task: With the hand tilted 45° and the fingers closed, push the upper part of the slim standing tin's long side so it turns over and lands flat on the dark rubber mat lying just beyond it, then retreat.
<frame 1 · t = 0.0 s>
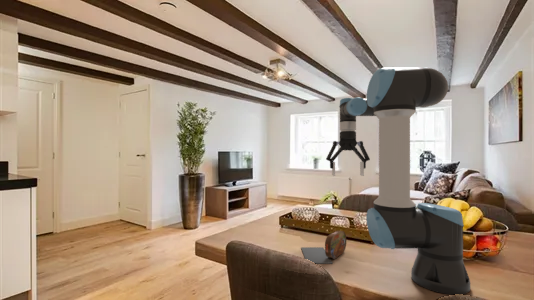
hand: (347, 175, 134), 28 cm above the table, tool pointing down, fingers open, 13 cm apart
mat: (315, 255, 107), on the table
tin: (335, 255, 107), on the table, touching mat
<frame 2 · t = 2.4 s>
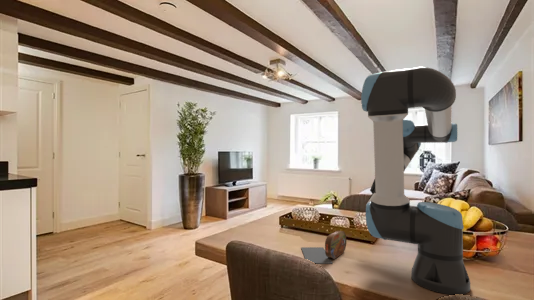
hand: (369, 207, 114), 17 cm above the table, tool tilted 45°, fingers closed
nothing on the table moved.
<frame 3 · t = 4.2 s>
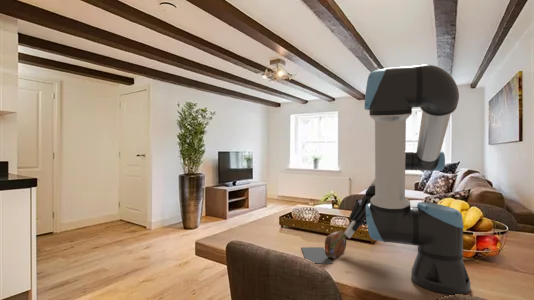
hand: (346, 235, 110), 7 cm above the table, tool tilted 45°, fingers closed
nothing on the table moved.
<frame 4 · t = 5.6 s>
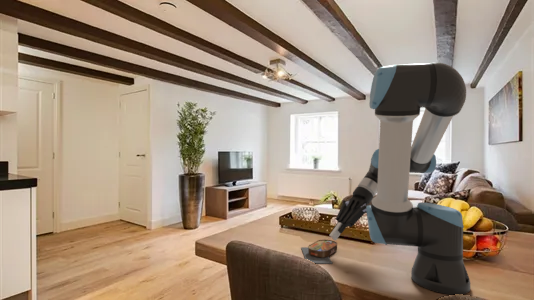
hand: (332, 238, 107), 6 cm above the table, tool tilted 45°, fingers closed
tin: (333, 251, 107), point 1 cm above the table, touching mat
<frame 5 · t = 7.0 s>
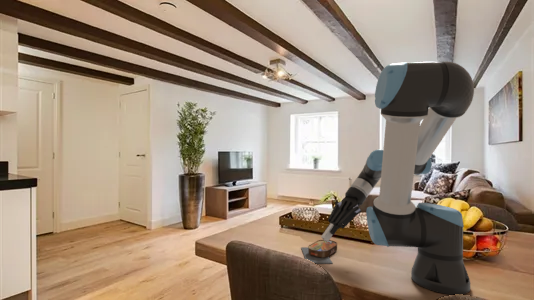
hand: (324, 239, 105), 7 cm above the table, tool tilted 45°, fingers closed
nothing on the table moved.
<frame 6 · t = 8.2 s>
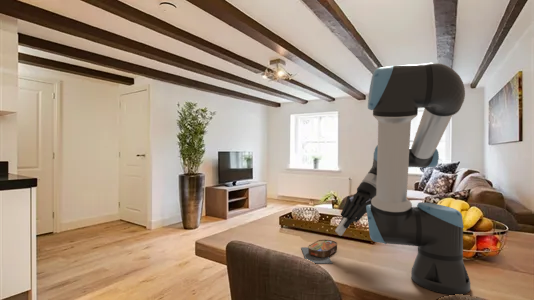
hand: (338, 233, 108), 8 cm above the table, tool tilted 45°, fingers closed
nothing on the table moved.
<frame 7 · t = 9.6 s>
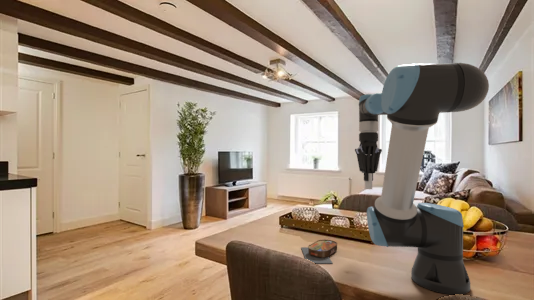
hand: (368, 188, 117), 24 cm above the table, tool pointing down, fingers closed
nothing on the table moved.
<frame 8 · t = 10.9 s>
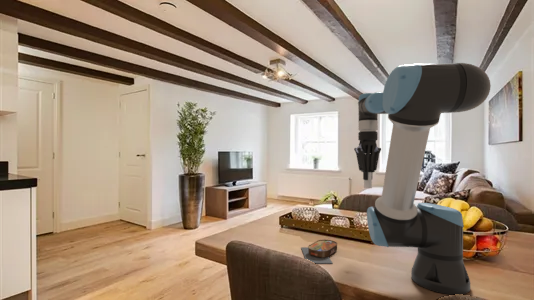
hand: (367, 187, 117), 24 cm above the table, tool pointing down, fingers closed
nothing on the table moved.
at the end: tin tilted 86°; tin inside the target area (6.4 cm from its centre), point 1.3 cm above the table; the gripper is holding nothing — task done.
